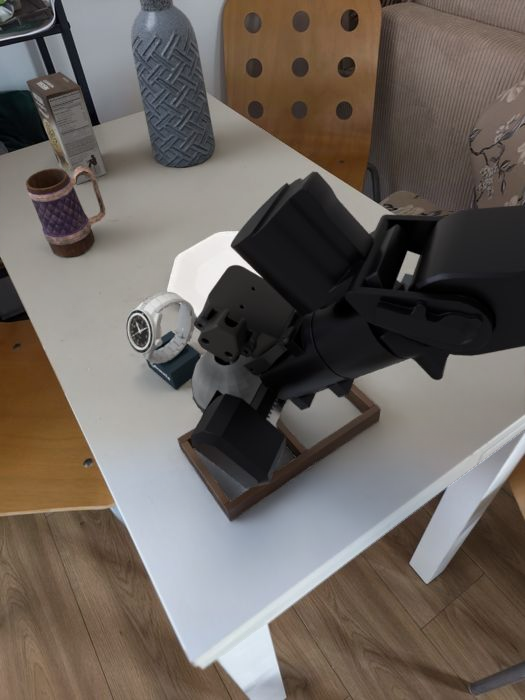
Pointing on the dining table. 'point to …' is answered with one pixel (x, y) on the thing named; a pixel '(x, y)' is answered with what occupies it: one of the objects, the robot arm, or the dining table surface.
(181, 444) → the frame
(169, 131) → the vase
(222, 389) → the beverage cup
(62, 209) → the mug
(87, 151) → the coffee box
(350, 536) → the dining table surface
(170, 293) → the watch
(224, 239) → the plate
